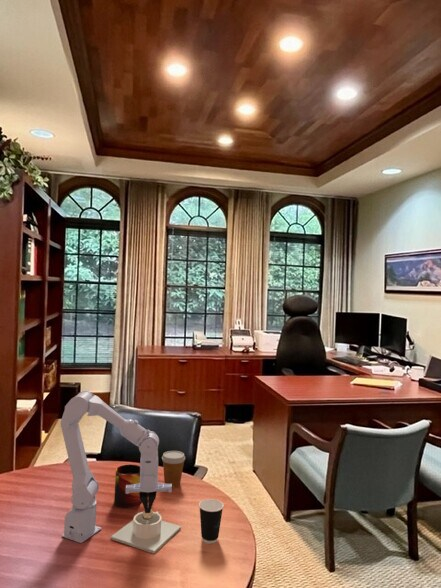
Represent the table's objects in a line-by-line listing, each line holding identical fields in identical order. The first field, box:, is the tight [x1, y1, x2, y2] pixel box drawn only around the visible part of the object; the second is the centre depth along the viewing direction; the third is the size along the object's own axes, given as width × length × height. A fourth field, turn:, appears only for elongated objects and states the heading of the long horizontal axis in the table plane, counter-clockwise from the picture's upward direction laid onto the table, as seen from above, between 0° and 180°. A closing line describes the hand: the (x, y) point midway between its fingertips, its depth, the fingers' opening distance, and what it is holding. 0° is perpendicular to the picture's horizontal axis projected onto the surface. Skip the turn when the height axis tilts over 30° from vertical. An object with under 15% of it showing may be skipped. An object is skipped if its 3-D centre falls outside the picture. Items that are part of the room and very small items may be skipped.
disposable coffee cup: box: [161, 450, 186, 488], centre depth 178 cm, size 10×10×12 cm
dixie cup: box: [198, 498, 225, 545], centre depth 139 cm, size 8×8×11 cm
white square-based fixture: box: [110, 511, 182, 554], centre depth 140 cm, size 16×16×5 cm
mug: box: [113, 464, 149, 510], centre depth 163 cm, size 10×14×12 cm
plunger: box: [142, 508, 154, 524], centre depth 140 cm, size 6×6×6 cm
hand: (148, 514), depth 140 cm, fingers closed, pressing on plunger
